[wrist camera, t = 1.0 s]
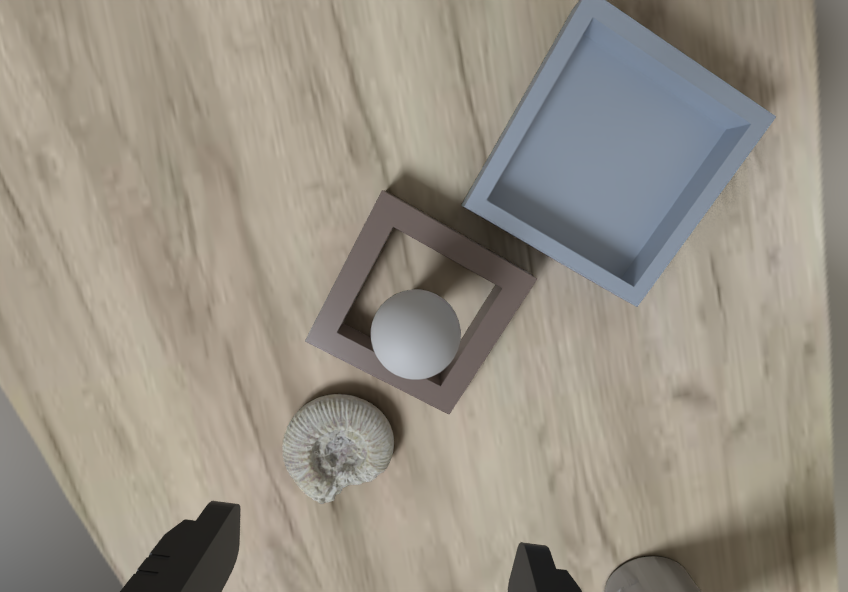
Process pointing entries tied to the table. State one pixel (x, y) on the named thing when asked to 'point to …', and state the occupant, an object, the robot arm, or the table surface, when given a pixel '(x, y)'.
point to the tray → (615, 151)
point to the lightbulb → (415, 334)
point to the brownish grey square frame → (449, 243)
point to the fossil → (336, 445)
